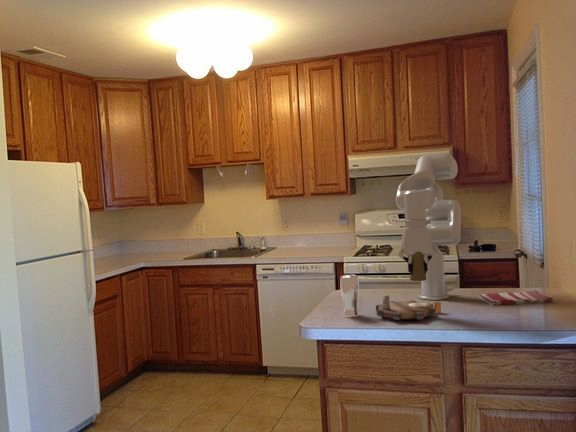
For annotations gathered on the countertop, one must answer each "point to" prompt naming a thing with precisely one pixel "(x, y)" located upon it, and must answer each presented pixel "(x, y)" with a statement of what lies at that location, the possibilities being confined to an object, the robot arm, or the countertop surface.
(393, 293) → the countertop surface
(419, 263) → the cork
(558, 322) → the countertop surface
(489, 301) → the dish towel
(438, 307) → the orange wooden block
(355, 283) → the beer glass
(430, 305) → the sprocket wheel
